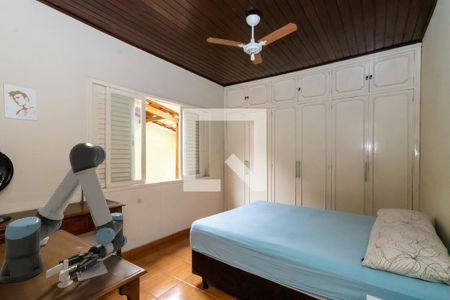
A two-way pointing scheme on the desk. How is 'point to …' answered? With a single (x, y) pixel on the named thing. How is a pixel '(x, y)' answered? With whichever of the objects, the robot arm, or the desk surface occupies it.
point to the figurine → (44, 241)
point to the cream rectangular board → (92, 271)
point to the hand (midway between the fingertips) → (53, 275)
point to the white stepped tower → (66, 281)
